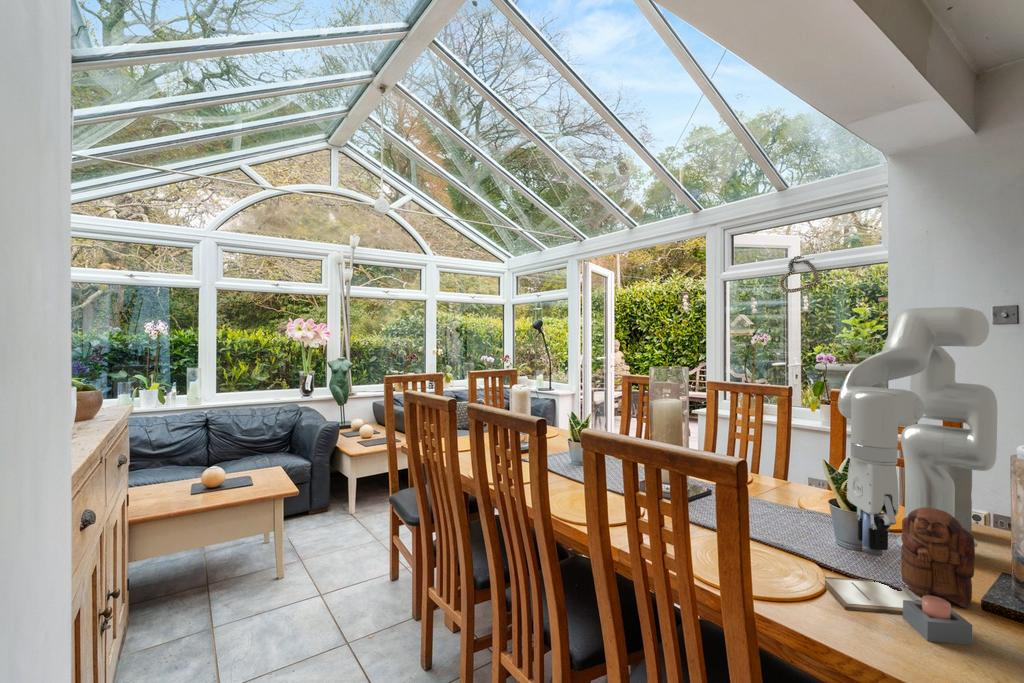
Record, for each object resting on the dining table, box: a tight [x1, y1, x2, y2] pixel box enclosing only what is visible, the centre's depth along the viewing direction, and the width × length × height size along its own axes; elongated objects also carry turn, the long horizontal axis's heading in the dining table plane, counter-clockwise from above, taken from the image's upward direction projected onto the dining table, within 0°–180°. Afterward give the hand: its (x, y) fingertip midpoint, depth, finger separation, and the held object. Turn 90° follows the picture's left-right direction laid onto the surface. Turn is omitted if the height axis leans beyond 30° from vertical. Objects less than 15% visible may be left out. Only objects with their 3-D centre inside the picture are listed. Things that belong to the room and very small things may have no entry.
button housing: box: [902, 600, 973, 646], centre depth 90 cm, size 7×7×4 cm
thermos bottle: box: [942, 465, 973, 534], centre depth 134 cm, size 8×8×28 cm
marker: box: [861, 511, 883, 557], centre depth 97 cm, size 3×3×8 cm
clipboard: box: [824, 576, 922, 615], centre depth 101 cm, size 16×12×1 cm
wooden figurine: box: [900, 507, 976, 609], centre depth 102 cm, size 12×6×18 cm, turn 44°
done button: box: [921, 595, 952, 620], centre depth 90 cm, size 4×4×4 cm
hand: (872, 544), depth 97 cm, fingers closed on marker, 3 cm apart
